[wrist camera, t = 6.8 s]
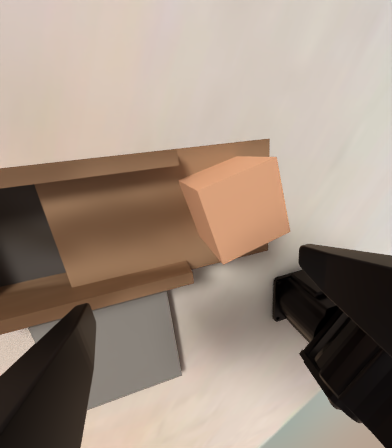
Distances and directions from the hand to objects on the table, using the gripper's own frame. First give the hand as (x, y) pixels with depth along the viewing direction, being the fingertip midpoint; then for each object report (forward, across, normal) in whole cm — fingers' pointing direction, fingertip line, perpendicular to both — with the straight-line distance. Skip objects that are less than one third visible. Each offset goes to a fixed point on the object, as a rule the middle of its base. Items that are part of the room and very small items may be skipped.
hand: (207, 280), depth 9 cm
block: (+9, -4, -1) cm, 10 cm away
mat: (+12, +8, +14) cm, 20 cm away
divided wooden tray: (+12, +4, 0) cm, 12 cm away
